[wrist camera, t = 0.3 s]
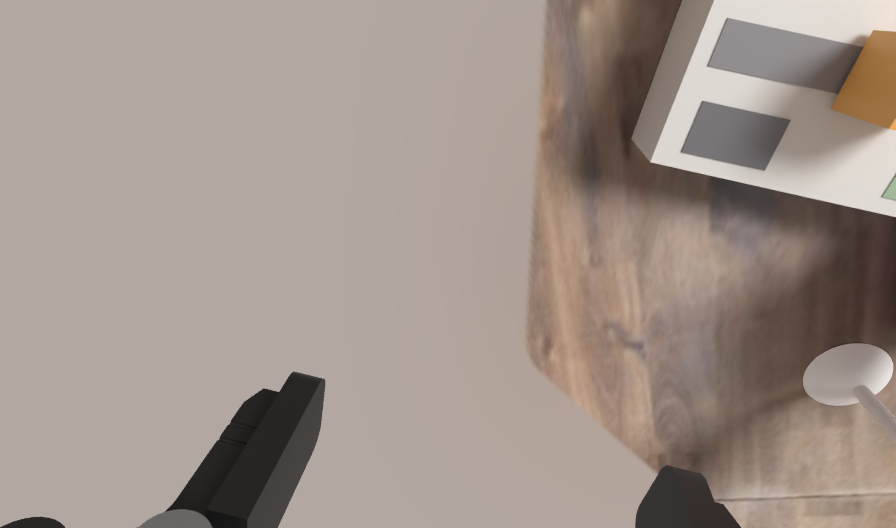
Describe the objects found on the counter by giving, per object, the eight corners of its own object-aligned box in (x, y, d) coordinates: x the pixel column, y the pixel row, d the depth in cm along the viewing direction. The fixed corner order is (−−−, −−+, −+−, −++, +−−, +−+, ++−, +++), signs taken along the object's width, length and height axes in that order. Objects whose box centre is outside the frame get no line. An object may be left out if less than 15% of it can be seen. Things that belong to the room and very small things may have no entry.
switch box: (718, -98, 29) (762, -122, 24) (1065, -26, 28) (1191, -32, 23) (631, 138, 36) (650, 162, 30) (911, 201, 35) (981, 236, 30)
